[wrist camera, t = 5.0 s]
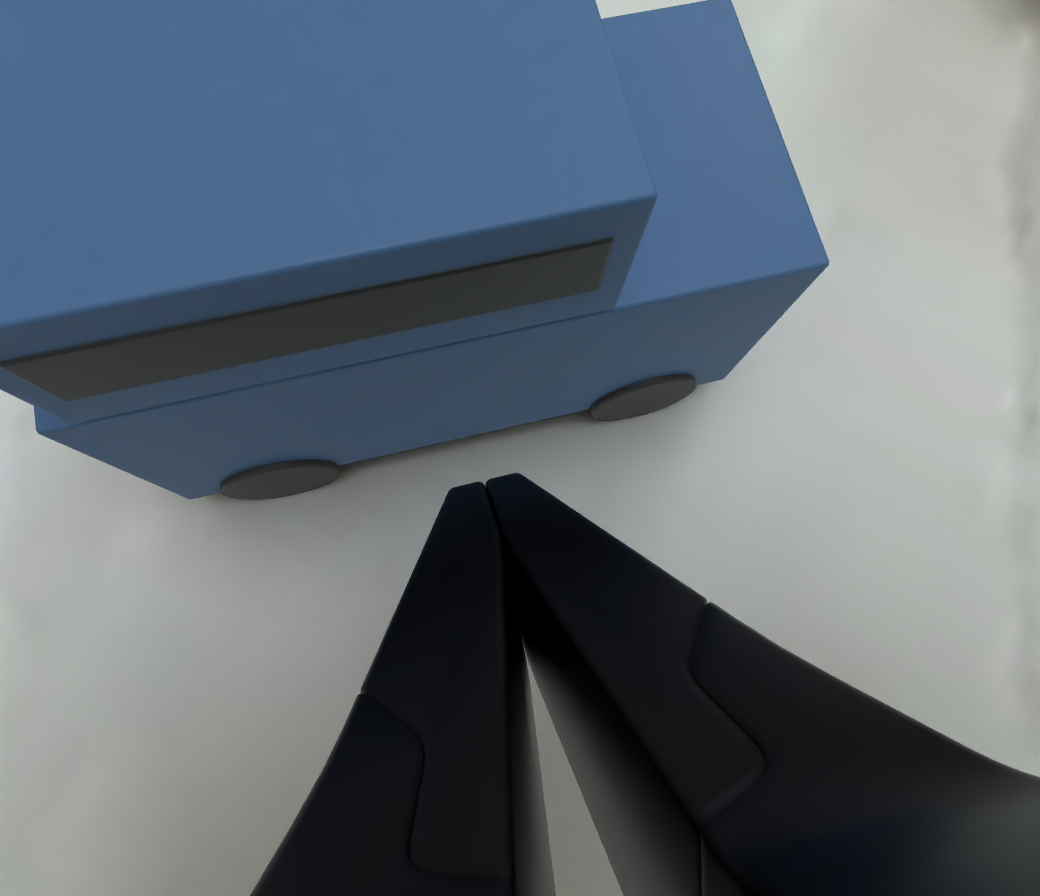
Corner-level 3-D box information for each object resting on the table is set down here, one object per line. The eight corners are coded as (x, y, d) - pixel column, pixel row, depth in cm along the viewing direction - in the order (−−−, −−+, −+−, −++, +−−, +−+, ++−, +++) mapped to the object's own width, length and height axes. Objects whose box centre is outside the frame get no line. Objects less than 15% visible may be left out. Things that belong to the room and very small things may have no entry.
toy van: (713, 399, 18) (954, 149, 8) (207, 514, 16) (-148, 369, 7) (649, 199, 19) (799, -207, 10) (175, 294, 18) (-163, -64, 9)
